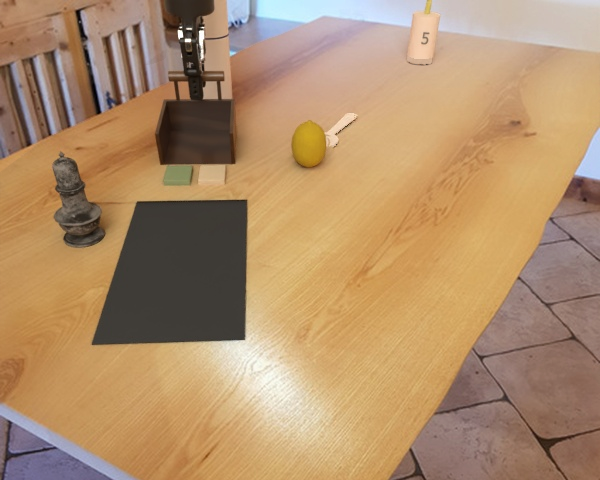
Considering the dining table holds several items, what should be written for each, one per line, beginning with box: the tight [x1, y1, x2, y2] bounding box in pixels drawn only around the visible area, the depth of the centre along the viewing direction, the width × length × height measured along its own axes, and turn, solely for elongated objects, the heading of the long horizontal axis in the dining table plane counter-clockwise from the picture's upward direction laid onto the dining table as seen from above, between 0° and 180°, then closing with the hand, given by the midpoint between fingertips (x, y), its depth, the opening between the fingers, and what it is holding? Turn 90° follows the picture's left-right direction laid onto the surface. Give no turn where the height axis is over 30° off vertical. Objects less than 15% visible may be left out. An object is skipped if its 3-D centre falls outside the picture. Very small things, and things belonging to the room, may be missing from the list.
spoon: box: [324, 112, 358, 148], centre depth 100 cm, size 5×18×1 cm, turn 152°
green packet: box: [162, 165, 194, 187], centre depth 84 cm, size 5×4×1 cm
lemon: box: [290, 119, 327, 168], centre depth 86 cm, size 6×6×8 cm
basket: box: [154, 70, 238, 166], centre depth 89 cm, size 12×12×11 cm
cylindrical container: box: [202, 0, 233, 99], centre depth 103 cm, size 7×7×25 cm
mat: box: [91, 199, 248, 346], centre depth 73 cm, size 40×16×1 cm, turn 4°
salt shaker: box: [51, 151, 106, 248], centre depth 69 cm, size 6×6×12 cm
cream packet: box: [197, 164, 227, 186], centre depth 85 cm, size 5×4×1 cm
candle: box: [406, 0, 441, 59], centre depth 129 cm, size 6×6×15 cm
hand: (198, 92), depth 92 cm, fingers open, 5 cm apart
